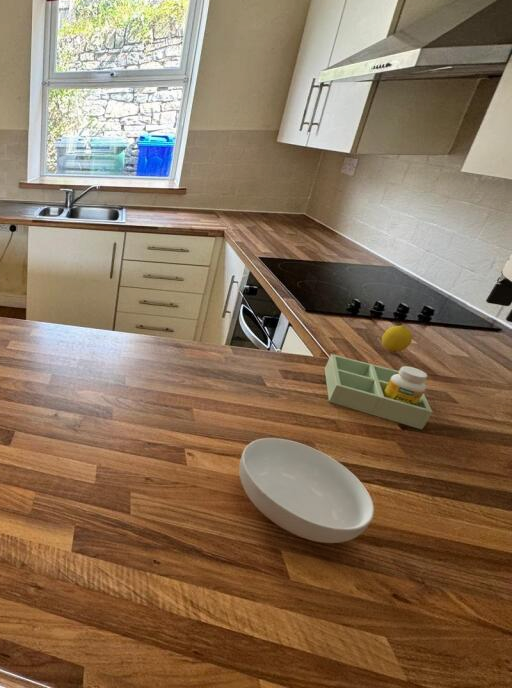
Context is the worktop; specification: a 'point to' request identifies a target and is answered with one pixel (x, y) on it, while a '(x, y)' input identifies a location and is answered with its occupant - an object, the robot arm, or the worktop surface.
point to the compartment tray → (371, 391)
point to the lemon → (397, 338)
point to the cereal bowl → (305, 490)
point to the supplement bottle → (406, 385)
